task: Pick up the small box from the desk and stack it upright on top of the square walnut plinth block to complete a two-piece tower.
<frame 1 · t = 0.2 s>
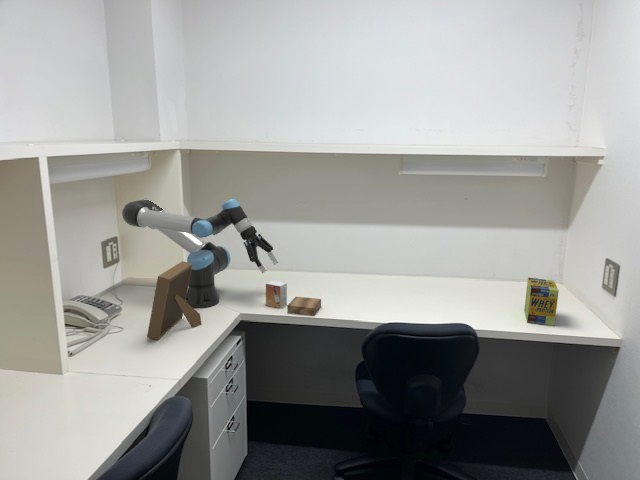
hand: (271, 267, 211), 15 cm above the table, tool tilted 35°, fingers open, 13 cm apart
plinth: (304, 310, 201), on the table
photo frame: (178, 329, 179), on the table
protein box: (538, 318, 193), on the table
small box: (276, 305, 206), on the table
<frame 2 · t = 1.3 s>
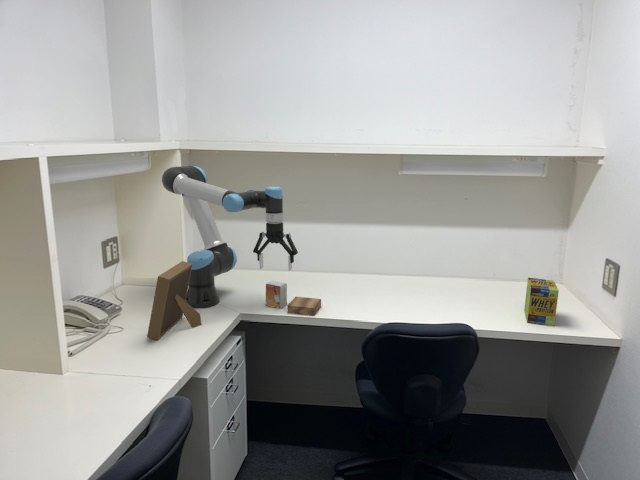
hand: (275, 269, 203), 17 cm above the table, tool pointing down, fingers open, 13 cm apart
nothing on the table moved.
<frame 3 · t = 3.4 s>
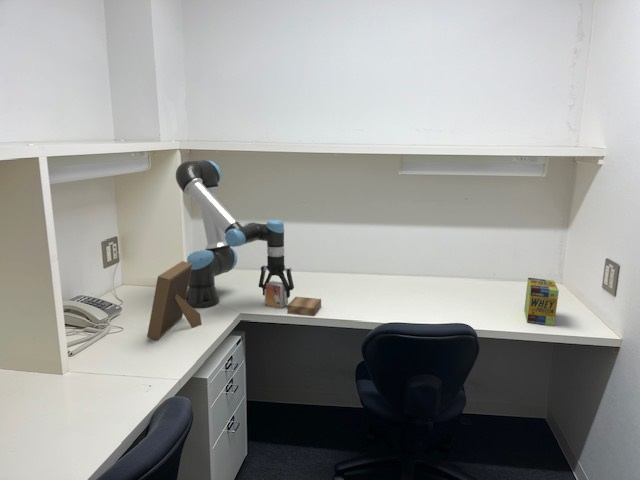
hand: (276, 303, 206), 1 cm above the table, tool pointing down, fingers closed on small box, 9 cm apart
small box: (276, 305, 206), on the table, touching gripper
everything else where it was.
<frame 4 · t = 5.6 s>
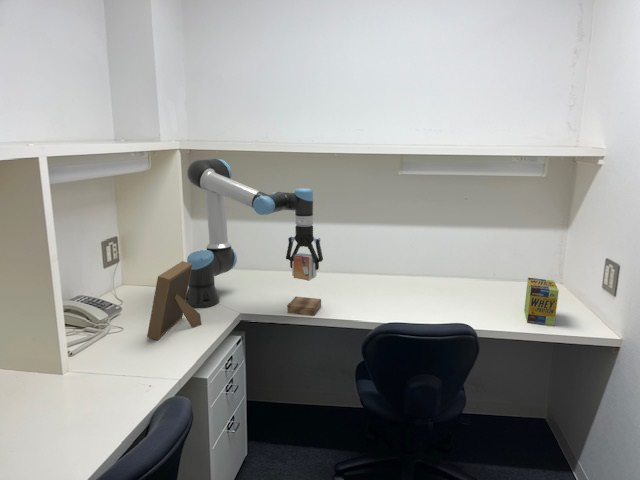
hand: (304, 275, 197), 16 cm above the table, tool pointing down, fingers closed on small box, 9 cm apart
small box: (304, 278, 198), point 14 cm above the table, touching gripper
everything else where it was.
when the fingers open (6 cm above the table, at t = 7.8 s): small box drops 1 cm, point 3 cm above the table.
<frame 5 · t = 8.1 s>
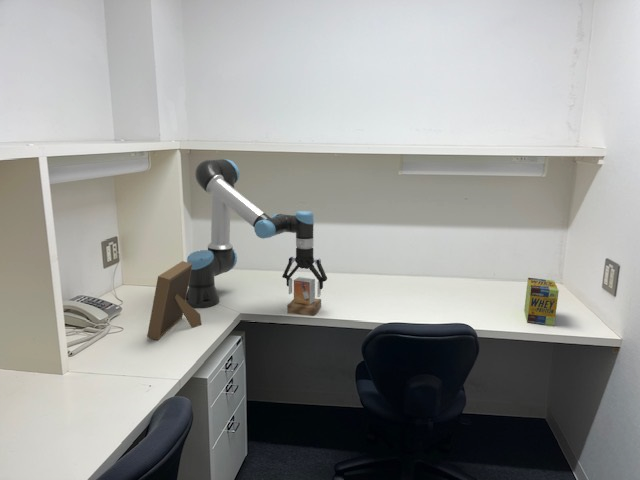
hand: (304, 294, 199), 7 cm above the table, tool pointing down, fingers open, 12 cm apart
small box: (304, 302, 200), point 3 cm above the table
everything else where it was.
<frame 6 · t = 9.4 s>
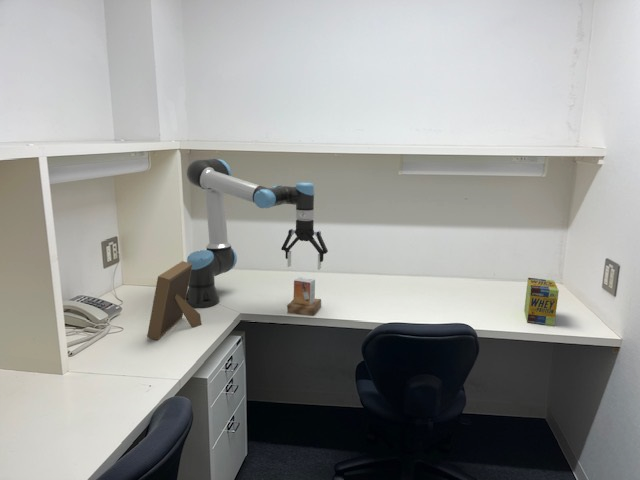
hand: (304, 267, 197), 19 cm above the table, tool pointing down, fingers open, 13 cm apart
plinth: (304, 310, 201), on the table, touching small box
small box: (304, 303, 200), point 3 cm above the table, touching plinth
everything else where it was.
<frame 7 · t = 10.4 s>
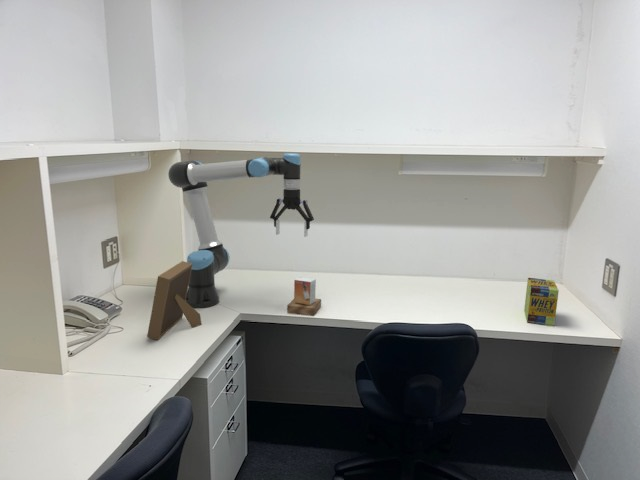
hand: (291, 235, 207), 31 cm above the table, tool pointing down, fingers open, 13 cm apart
plinth: (304, 310, 201), on the table
small box: (304, 302, 199), point 3 cm above the table
everything else where it was.
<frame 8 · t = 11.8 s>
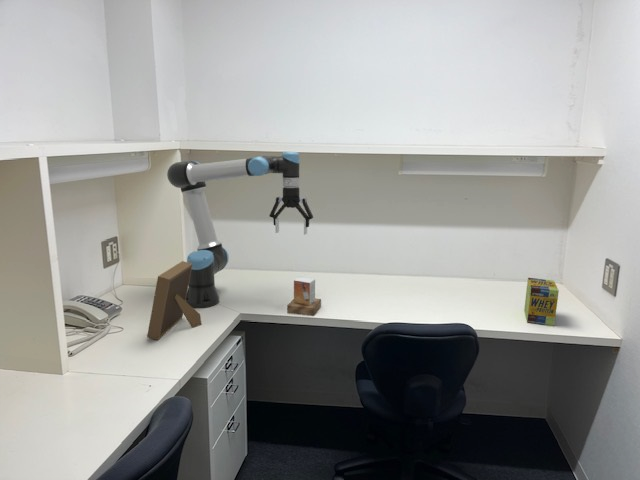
hand: (291, 233, 208), 32 cm above the table, tool pointing down, fingers open, 13 cm apart
nothing on the table moved.
at the end: small box inside the target area on the plinth (0.3 cm from its centre), point 3.8 cm above the plinth's base; small box tilted 1°; the gripper is holding nothing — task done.
